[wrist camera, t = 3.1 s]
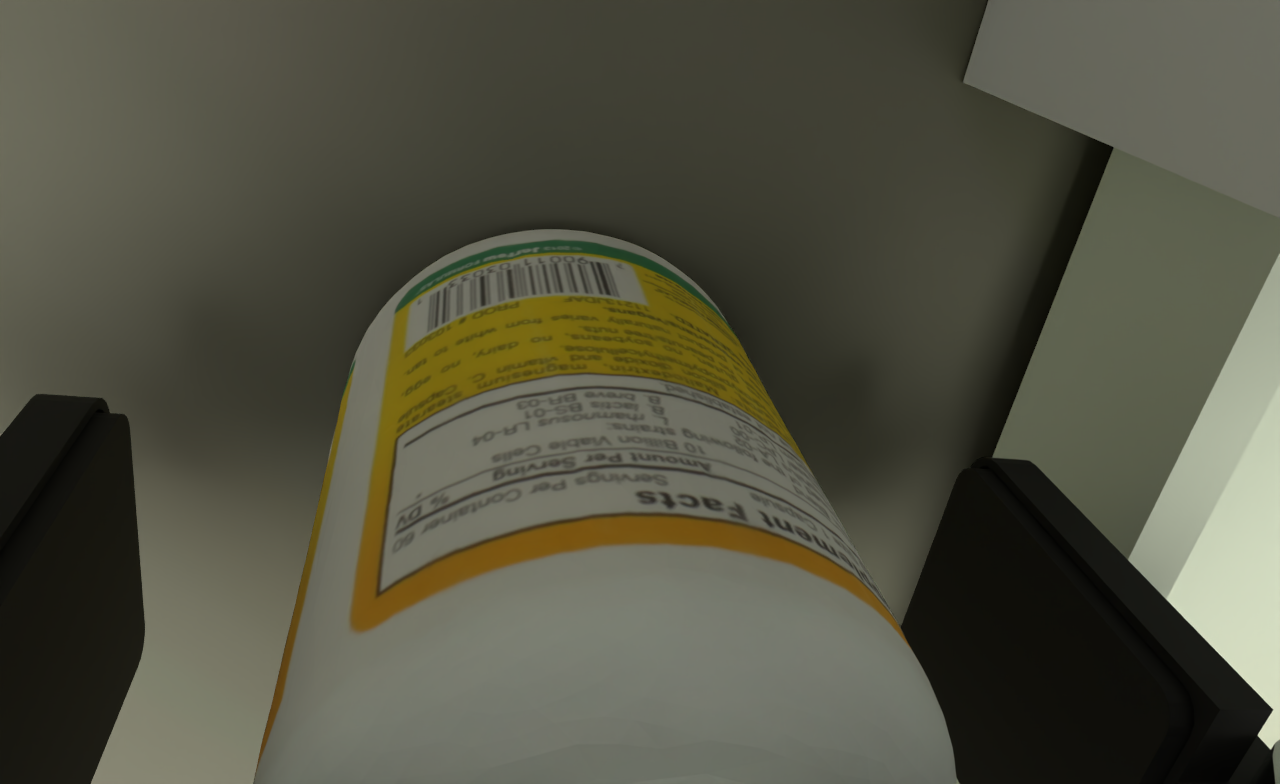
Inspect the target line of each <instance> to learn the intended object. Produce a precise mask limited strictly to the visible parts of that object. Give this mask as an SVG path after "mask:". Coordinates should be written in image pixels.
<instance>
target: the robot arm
mask: <svg viewBox="0 0 1280 784" xmlns="http://www.w3.org/2000/svg"><path fill="white" fill-rule="evenodd" d="M901 629H902V632H903V634H904V636H905V638H906V640H907V642H908V644H909V646H910V647H911V649H912V651H913V653H914V654H915V656H916V658H917V659H918V661H919V663H920V665H921V667H922V669H923V670H924V672H925V674H926V676H927V678H928V680H929V682H930V684H931V687H932V689H933V691H934V694H935V696H936V698H937V701H938V703H939V705H940V708H941V710H942V713H943V715H944V718H945V722H946V725H947V729H948V733H949V736H950V740H951V743H952V747H953V753H954V760H955V770H956V778H957V780H958V782H959V783H960V784H1280V740H1278V741H1277V742H1275V744H1274V745H1273V747H1272V749H1271V750H1270V749H1269V747H1268V746H1267V745H1266V744H1265V743H1264V742H1263V741H1262V740H1261V739H1260V738H1259V737H1258V736H1257V735H1258V734H1259V732H1260V730H1261V729H1262V727H1263V726H1264V724H1265V722H1266V721H1267V719H1268V718H1269V716H1270V714H1271V713H1272V711H1273V709H1272V708H1271V707H1270V706H1269V705H1268V704H1267V703H1266V702H1265V701H1264V700H1263V699H1262V697H1261V696H1260V695H1259V694H1258V693H1257V692H1256V691H1255V690H1254V689H1253V688H1252V687H1251V686H1250V685H1249V684H1248V683H1247V682H1246V681H1245V680H1244V679H1243V678H1242V677H1241V676H1240V675H1239V674H1238V673H1237V672H1236V671H1235V670H1234V669H1233V668H1232V667H1231V666H1230V665H1229V663H1228V662H1227V661H1226V660H1225V659H1224V658H1223V657H1222V656H1221V655H1220V654H1219V653H1218V652H1217V651H1216V650H1215V649H1214V648H1213V647H1212V646H1211V645H1210V644H1209V643H1208V642H1207V641H1206V640H1205V639H1204V638H1203V637H1202V636H1201V635H1200V634H1199V633H1198V632H1197V631H1196V630H1195V628H1194V627H1193V626H1192V625H1191V624H1190V623H1189V622H1188V621H1187V620H1186V619H1185V618H1184V617H1183V616H1182V615H1181V614H1180V613H1179V612H1178V611H1177V610H1176V609H1175V608H1174V607H1173V606H1172V605H1171V604H1170V603H1169V602H1168V601H1167V600H1166V599H1165V598H1164V597H1163V596H1162V595H1161V593H1160V592H1159V591H1158V590H1157V589H1156V588H1155V587H1154V586H1153V585H1152V584H1151V583H1150V582H1149V581H1148V580H1147V579H1146V578H1145V577H1144V576H1143V575H1142V574H1141V573H1140V572H1139V571H1138V570H1137V569H1136V568H1135V567H1134V566H1133V565H1132V564H1131V563H1130V562H1129V561H1128V559H1127V558H1126V557H1125V556H1124V555H1123V554H1122V553H1121V552H1120V551H1119V550H1118V549H1117V548H1116V547H1115V546H1114V545H1113V544H1112V543H1111V542H1110V541H1109V540H1108V539H1107V538H1106V537H1105V536H1104V535H1103V534H1102V533H1101V532H1100V531H1099V530H1098V529H1097V528H1096V527H1095V526H1094V524H1093V523H1092V522H1091V521H1090V520H1089V519H1088V518H1087V517H1086V516H1085V515H1084V514H1083V513H1082V512H1081V511H1080V510H1079V509H1078V508H1077V507H1076V506H1075V505H1074V504H1073V503H1072V502H1071V501H1070V500H1069V499H1068V498H1067V497H1066V496H1065V495H1064V494H1063V493H1062V492H1061V491H1060V489H1059V488H1058V487H1057V486H1056V485H1055V484H1054V483H1053V482H1052V481H1051V480H1050V479H1049V478H1048V477H1047V476H1046V475H1045V474H1044V473H1043V472H1042V471H1041V470H1040V469H1039V468H1038V467H1037V466H1036V465H1035V464H1034V463H1032V462H1031V461H1028V460H1020V459H1005V458H990V457H982V458H980V459H977V460H976V461H975V462H974V463H973V464H972V466H971V468H967V469H964V470H963V471H962V472H961V473H960V474H959V475H958V477H957V479H956V482H955V484H954V487H953V490H952V492H951V495H950V498H949V500H948V503H947V506H946V508H945V511H944V514H943V516H942V519H941V522H940V524H939V527H938V530H937V532H936V535H935V538H934V540H933V543H932V546H931V548H930V551H929V554H928V556H927V559H926V562H925V564H924V567H923V570H922V572H921V575H920V578H919V580H918V583H917V586H916V588H915V591H914V594H913V596H912V599H911V602H910V604H909V607H908V610H907V612H906V615H905V618H904V620H903V623H902V626H901ZM144 636H145V621H144V608H143V595H142V581H141V568H140V555H139V542H138V529H137V516H136V502H135V489H134V476H133V463H132V450H131V437H130V427H129V421H128V419H127V417H126V415H125V414H113V413H110V412H109V408H108V405H107V403H106V401H105V400H104V399H103V398H92V397H77V396H62V395H47V394H36V395H35V396H34V397H33V398H32V399H30V401H29V402H28V403H27V404H26V406H25V407H24V408H23V409H22V411H21V412H20V413H19V414H18V415H17V417H16V418H15V419H14V420H13V422H12V423H11V424H10V425H9V427H8V428H7V429H6V430H5V431H4V433H3V434H2V435H1V436H0V784H91V781H92V779H93V776H94V774H95V771H96V769H97V766H98V764H99V761H100V759H101V757H102V754H103V752H104V749H105V747H106V744H107V742H108V739H109V737H110V734H111V732H112V729H113V727H114V724H115V722H116V719H117V717H118V714H119V712H120V710H121V707H122V705H123V702H124V700H125V697H126V695H127V692H128V690H129V687H130V685H131V682H132V680H133V677H134V675H135V672H136V670H137V668H138V665H139V662H140V659H141V655H142V651H143V645H144Z"/></svg>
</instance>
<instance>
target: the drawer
mask: <svg viewBox="0 0 1280 784" xmlns="http://www.w3.org/2000/svg"><path fill="white" fill-rule="evenodd" d="M992 458H1005V459H1020V460H1028V461H1031V462H1032V463H1034V464H1035V465H1036V466H1037V467H1038V468H1039V469H1040V470H1041V471H1042V472H1043V473H1044V474H1045V475H1046V476H1047V477H1048V478H1049V479H1050V480H1051V481H1052V482H1053V483H1054V484H1055V485H1056V486H1057V487H1058V488H1059V489H1060V491H1061V492H1062V493H1063V494H1064V495H1065V496H1066V497H1067V498H1068V499H1069V500H1070V501H1071V502H1072V503H1073V504H1074V505H1075V506H1076V507H1077V508H1078V509H1079V510H1080V511H1081V512H1082V513H1083V514H1084V515H1085V516H1086V517H1087V518H1088V519H1089V520H1090V521H1091V522H1092V523H1093V524H1094V526H1095V527H1096V528H1097V529H1098V530H1099V531H1100V532H1101V533H1102V534H1103V535H1104V536H1105V537H1106V538H1107V539H1108V540H1109V541H1110V542H1111V543H1112V544H1113V545H1114V546H1115V547H1116V548H1117V549H1118V550H1119V551H1120V552H1121V553H1122V554H1123V555H1124V556H1125V557H1126V558H1127V559H1128V561H1129V562H1130V563H1131V564H1132V565H1133V566H1134V567H1135V568H1136V569H1137V570H1138V571H1139V572H1140V573H1141V574H1142V575H1143V576H1144V577H1145V578H1146V579H1147V580H1148V581H1149V582H1150V583H1151V584H1152V585H1153V586H1154V587H1155V588H1156V589H1157V590H1158V591H1159V592H1160V593H1161V595H1162V596H1163V597H1164V598H1165V599H1166V600H1167V601H1168V602H1169V603H1170V604H1171V605H1172V606H1173V607H1174V608H1175V609H1176V610H1177V611H1178V612H1179V613H1180V614H1181V615H1182V616H1183V617H1184V618H1185V619H1186V620H1187V621H1188V622H1189V623H1190V624H1191V625H1192V626H1193V627H1194V628H1195V630H1196V631H1197V632H1198V633H1199V634H1200V635H1201V636H1202V637H1203V638H1204V639H1205V640H1206V641H1207V642H1208V643H1209V644H1210V645H1211V646H1212V647H1213V648H1214V649H1215V650H1216V651H1217V652H1218V653H1219V654H1220V655H1221V656H1222V657H1223V658H1224V659H1225V660H1226V661H1227V662H1228V663H1229V665H1230V666H1231V667H1232V668H1233V669H1234V670H1235V671H1236V672H1237V673H1238V674H1239V675H1240V676H1241V677H1242V678H1243V679H1244V680H1245V681H1246V682H1247V683H1248V684H1249V685H1250V686H1251V687H1252V688H1253V689H1254V690H1255V691H1256V692H1257V693H1258V694H1259V695H1260V696H1261V697H1262V699H1263V700H1264V701H1265V702H1266V703H1267V704H1268V705H1269V706H1270V707H1271V708H1272V709H1273V711H1272V713H1271V714H1270V716H1269V718H1268V719H1267V721H1266V722H1265V724H1264V726H1263V727H1262V729H1261V730H1260V732H1259V734H1258V735H1257V736H1258V737H1259V738H1260V739H1261V740H1262V741H1263V742H1264V743H1265V744H1266V745H1267V746H1268V747H1269V749H1270V750H1271V749H1272V747H1273V745H1274V744H1275V742H1277V741H1278V740H1280V218H1278V217H1276V216H1273V215H1271V214H1269V213H1266V212H1264V211H1262V210H1259V209H1257V208H1255V207H1252V206H1250V205H1248V204H1245V203H1243V202H1241V201H1238V200H1236V199H1234V198H1231V197H1229V196H1227V195H1224V194H1222V193H1220V192H1217V191H1215V190H1213V189H1210V188H1208V187H1206V186H1203V185H1201V184H1199V183H1196V182H1194V181H1192V180H1189V179H1187V178H1185V177H1182V176H1180V175H1178V174H1175V173H1173V172H1171V171H1168V170H1166V169H1164V168H1161V167H1159V166H1157V165H1154V164H1152V163H1150V162H1147V161H1145V160H1143V159H1140V158H1138V157H1136V156H1133V155H1131V154H1129V153H1126V152H1124V151H1122V150H1119V149H1117V148H1115V147H1114V148H1113V151H1112V154H1111V156H1110V159H1109V161H1108V164H1107V166H1106V169H1105V171H1104V174H1103V176H1102V179H1101V182H1100V184H1099V187H1098V189H1097V192H1096V194H1095V197H1094V199H1093V202H1092V205H1091V207H1090V210H1089V212H1088V215H1087V217H1086V220H1085V222H1084V225H1083V227H1082V230H1081V233H1080V235H1079V238H1078V240H1077V243H1076V245H1075V248H1074V250H1073V253H1072V255H1071V258H1070V261H1069V263H1068V266H1067V268H1066V271H1065V273H1064V276H1063V278H1062V281H1061V283H1060V286H1059V289H1058V291H1057V294H1056V296H1055V299H1054V301H1053V304H1052V306H1051V309H1050V311H1049V314H1048V317H1047V319H1046V322H1045V324H1044V327H1043V329H1042V332H1041V334H1040V337H1039V340H1038V342H1037V345H1036V347H1035V350H1034V352H1033V355H1032V357H1031V360H1030V362H1029V365H1028V368H1027V370H1026V373H1025V375H1024V378H1023V380H1022V383H1021V385H1020V388H1019V390H1018V393H1017V396H1016V398H1015V401H1014V403H1013V406H1012V408H1011V411H1010V413H1009V416H1008V418H1007V421H1006V424H1005V426H1004V429H1003V431H1002V434H1001V436H1000V439H999V441H998V444H997V447H996V449H995V452H994V454H993V457H992ZM956 780H957V778H956ZM957 784H960V783H959V782H958V780H957Z"/></svg>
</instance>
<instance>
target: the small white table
mask: <svg viewBox="0 0 1280 784" xmlns="http://www.w3.org/2000/svg"><path fill="white" fill-rule="evenodd" d="M963 83H965V84H968V85H970V86H972V87H975V88H977V89H979V90H982V91H984V92H986V93H989V94H991V95H993V96H996V97H998V98H1000V99H1003V100H1005V101H1007V102H1010V103H1012V104H1014V105H1017V106H1019V107H1021V108H1024V109H1026V110H1028V111H1031V112H1033V113H1035V114H1038V115H1040V116H1042V117H1045V118H1047V119H1049V120H1052V121H1054V122H1056V123H1059V124H1061V125H1063V126H1066V127H1068V128H1070V129H1073V130H1075V131H1077V132H1080V133H1082V134H1084V135H1087V136H1089V137H1091V138H1094V139H1096V140H1098V141H1101V142H1103V143H1105V144H1108V145H1110V146H1112V147H1115V148H1117V149H1119V150H1122V151H1124V152H1126V153H1129V154H1131V155H1133V156H1136V157H1138V158H1140V159H1143V160H1145V161H1147V162H1150V163H1152V164H1154V165H1157V166H1159V167H1161V168H1164V169H1166V170H1168V171H1171V172H1173V173H1175V174H1178V175H1180V176H1182V177H1185V178H1187V179H1189V180H1192V181H1194V182H1196V183H1199V184H1201V185H1203V186H1206V187H1208V188H1210V189H1213V190H1215V191H1217V192H1220V193H1222V194H1224V195H1227V196H1229V197H1231V198H1234V199H1236V200H1238V201H1241V202H1243V203H1245V204H1248V205H1250V206H1252V207H1255V208H1257V209H1259V210H1262V211H1264V212H1266V213H1269V214H1271V215H1273V216H1276V217H1278V218H1280V0H988V3H987V7H986V10H985V13H984V16H983V19H982V23H981V26H980V29H979V32H978V35H977V39H976V42H975V45H974V48H973V51H972V55H971V58H970V61H969V64H968V67H967V71H966V74H965V77H964V80H963Z"/></svg>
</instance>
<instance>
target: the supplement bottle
mask: <svg viewBox="0 0 1280 784" xmlns="http://www.w3.org/2000/svg"><path fill="white" fill-rule="evenodd" d="M253 784H957V780H956V770H955V760H954V753H953V747H952V743H951V740H950V736H949V733H948V729H947V725H946V722H945V718H944V715H943V713H942V710H941V708H940V705H939V703H938V701H937V698H936V696H935V694H934V691H933V689H932V687H931V684H930V682H929V680H928V678H927V676H926V674H925V672H924V670H923V669H922V667H921V665H920V663H919V661H918V659H917V658H916V656H915V654H914V653H913V651H912V649H911V647H910V646H909V644H908V642H907V640H906V638H905V636H904V634H903V632H902V629H901V627H900V625H899V624H898V622H897V620H896V619H895V617H894V615H893V614H892V612H891V610H890V608H889V607H888V605H887V603H886V602H885V600H884V598H883V596H882V595H881V593H880V591H879V589H878V588H877V586H876V584H875V582H874V581H873V579H872V577H871V575H870V574H869V572H868V570H867V568H866V567H865V565H864V563H863V561H862V559H861V558H860V556H859V554H858V552H857V550H856V549H855V547H854V545H853V543H852V541H851V540H850V538H849V536H848V534H847V532H846V531H845V529H844V527H843V525H842V523H841V522H840V520H839V518H838V516H837V515H836V513H835V511H834V510H833V508H832V506H831V504H830V503H829V501H828V499H827V497H826V496H825V494H824V492H823V490H822V489H821V487H820V485H819V483H818V482H817V480H816V478H815V477H814V475H813V473H812V471H811V470H810V468H809V466H808V464H807V463H806V461H805V459H804V457H803V456H802V454H801V452H800V450H799V449H798V447H797V445H796V443H795V441H794V440H793V438H792V436H791V435H790V433H789V431H788V429H787V428H786V426H785V424H784V422H783V420H782V419H781V417H780V415H779V413H778V412H777V410H776V408H775V406H774V404H773V403H772V401H771V399H770V397H769V396H768V394H767V392H766V390H765V388H764V386H763V384H762V383H761V381H760V379H759V377H758V375H757V373H756V371H755V369H754V367H753V365H752V364H751V362H750V361H749V359H748V357H747V355H746V353H745V351H744V349H743V347H742V345H741V343H740V342H739V340H738V338H737V336H736V334H735V333H734V331H733V330H732V329H731V327H730V326H729V324H728V322H727V321H726V319H725V318H724V316H723V315H722V313H721V312H720V310H719V309H718V307H717V306H716V304H715V303H714V302H713V301H712V300H711V299H710V298H709V296H708V295H707V294H706V293H705V292H704V291H703V290H702V289H701V288H700V287H699V286H698V285H697V284H696V283H695V282H694V281H693V280H691V279H690V278H689V277H688V276H686V275H685V274H684V273H683V272H681V271H680V270H679V269H677V268H676V267H674V266H673V265H672V264H670V263H669V262H667V261H666V260H664V259H663V258H661V257H659V256H658V255H656V254H654V253H652V252H650V251H648V250H646V249H644V248H642V247H639V246H637V245H634V244H632V243H629V242H626V241H623V240H620V239H616V238H613V237H609V236H604V235H600V234H595V233H590V232H586V231H574V230H562V229H540V230H530V231H521V232H514V233H508V234H504V235H500V236H495V237H491V238H488V239H485V240H482V241H478V242H475V243H472V244H469V245H467V246H464V247H462V248H460V249H458V250H456V251H454V252H452V253H449V254H447V255H445V256H443V257H442V258H440V259H439V260H437V261H436V262H434V263H433V264H431V265H430V266H428V267H426V268H425V269H424V270H422V271H421V272H420V273H419V274H417V275H416V276H415V277H413V278H412V279H411V280H410V281H409V282H408V283H407V284H405V285H404V286H403V287H402V288H401V289H400V290H399V291H398V292H397V293H396V294H395V295H394V296H393V297H392V298H391V299H390V300H389V301H388V302H387V303H386V305H385V306H384V307H383V308H382V309H381V310H380V312H379V313H378V315H377V316H376V318H375V319H374V321H373V322H372V323H371V325H370V326H369V328H368V329H367V331H366V333H365V335H364V337H363V339H362V341H361V343H360V345H359V347H358V349H357V351H356V354H355V357H354V360H353V362H352V365H351V368H350V372H349V375H348V379H347V382H346V385H345V388H344V391H343V395H342V401H341V406H340V411H339V415H338V421H337V425H336V428H335V432H334V436H333V440H332V444H331V448H330V452H329V458H328V463H327V468H326V472H325V476H324V481H323V485H322V490H321V494H320V499H319V503H318V508H317V512H316V517H315V521H314V526H313V530H312V535H311V539H310V544H309V548H308V553H307V557H306V561H305V565H304V570H303V574H302V578H301V582H300V586H299V591H298V595H297V600H296V604H295V608H294V612H293V616H292V621H291V625H290V629H289V633H288V637H287V641H286V645H285V649H284V653H283V658H282V662H281V667H280V671H279V675H278V680H277V684H276V688H275V693H274V697H273V702H272V706H271V709H270V713H269V717H268V721H267V725H266V729H265V733H264V737H263V741H262V744H261V749H260V754H259V759H258V764H257V769H256V773H255V778H254V783H253Z"/></svg>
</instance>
